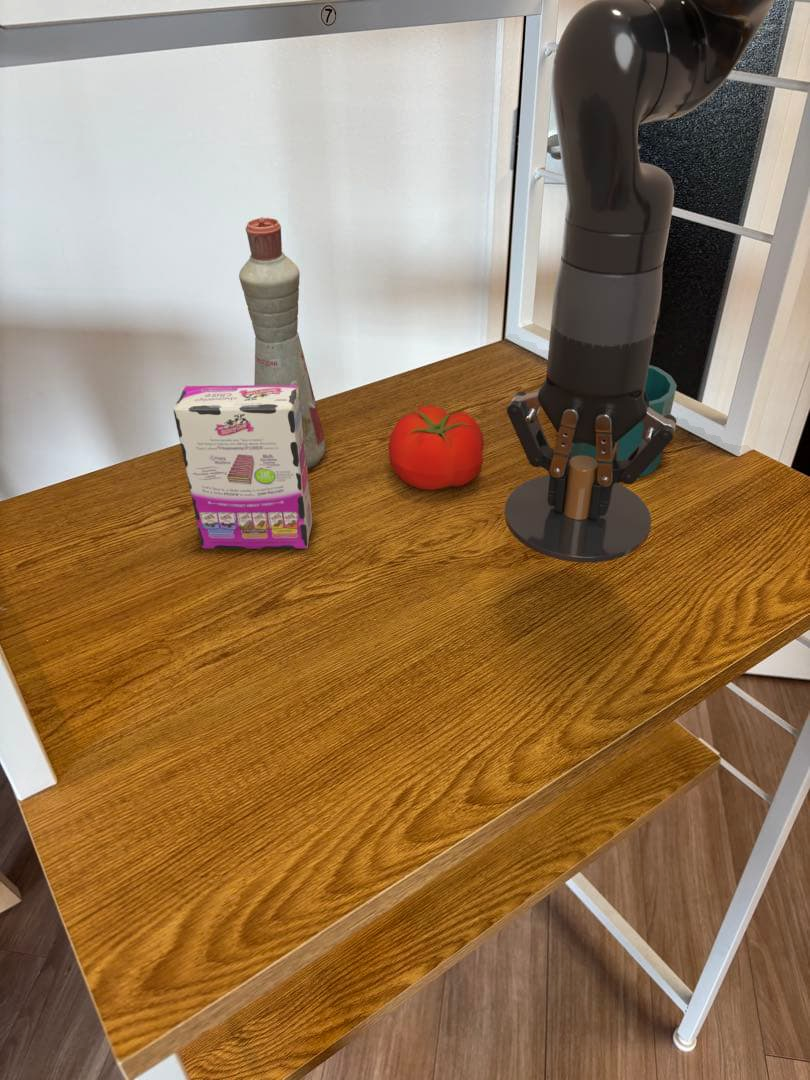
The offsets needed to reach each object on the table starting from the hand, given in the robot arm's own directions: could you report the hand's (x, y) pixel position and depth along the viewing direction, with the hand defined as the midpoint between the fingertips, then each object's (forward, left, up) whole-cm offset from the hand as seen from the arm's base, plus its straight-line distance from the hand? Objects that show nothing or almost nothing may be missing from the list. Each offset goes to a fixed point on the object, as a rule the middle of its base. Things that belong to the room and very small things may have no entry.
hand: (577, 511), depth 71 cm
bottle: (+36, -15, -11) cm, 41 cm away
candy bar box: (+32, 0, -11) cm, 34 cm away
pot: (0, -29, -11) cm, 31 cm away
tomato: (+18, -17, -11) cm, 27 cm away
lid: (0, 0, -1) cm, 1 cm away
